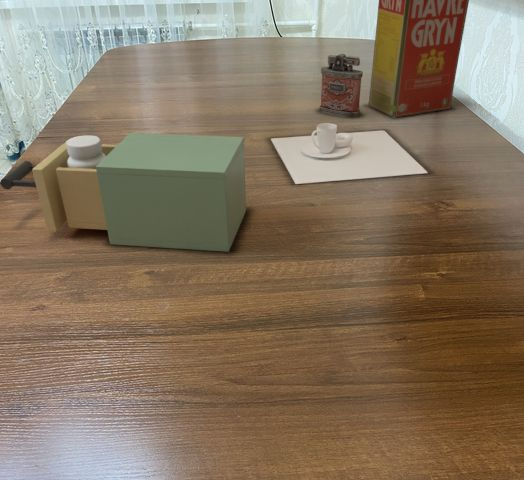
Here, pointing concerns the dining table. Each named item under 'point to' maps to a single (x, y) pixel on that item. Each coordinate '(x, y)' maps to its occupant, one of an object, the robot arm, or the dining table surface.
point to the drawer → (63, 190)
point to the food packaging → (416, 55)
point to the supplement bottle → (84, 152)
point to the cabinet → (174, 191)
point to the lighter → (341, 86)
